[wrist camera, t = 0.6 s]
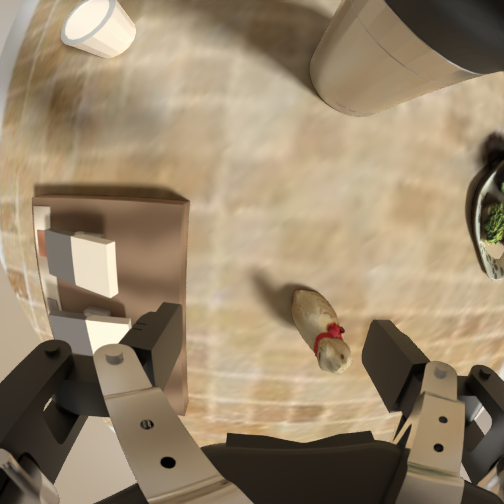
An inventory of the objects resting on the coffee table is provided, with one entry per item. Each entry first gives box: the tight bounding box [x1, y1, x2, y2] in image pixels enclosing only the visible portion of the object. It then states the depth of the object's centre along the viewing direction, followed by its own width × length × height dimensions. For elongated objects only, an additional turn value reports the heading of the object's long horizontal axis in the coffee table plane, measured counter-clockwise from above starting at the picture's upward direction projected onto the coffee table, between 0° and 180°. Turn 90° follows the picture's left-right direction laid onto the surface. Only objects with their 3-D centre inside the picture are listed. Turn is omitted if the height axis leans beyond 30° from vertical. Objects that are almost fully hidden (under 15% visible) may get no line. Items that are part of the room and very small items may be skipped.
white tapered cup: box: [61, 0, 136, 59], centre depth 18 cm, size 7×7×7 cm
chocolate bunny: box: [291, 290, 352, 374], centre depth 26 cm, size 6×8×10 cm
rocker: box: [44, 228, 118, 298], centre depth 23 cm, size 5×10×2 cm, turn 84°
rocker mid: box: [49, 310, 132, 356], centre depth 26 cm, size 5×10×2 cm, turn 84°
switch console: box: [32, 194, 190, 416], centre depth 29 cm, size 29×20×5 cm
